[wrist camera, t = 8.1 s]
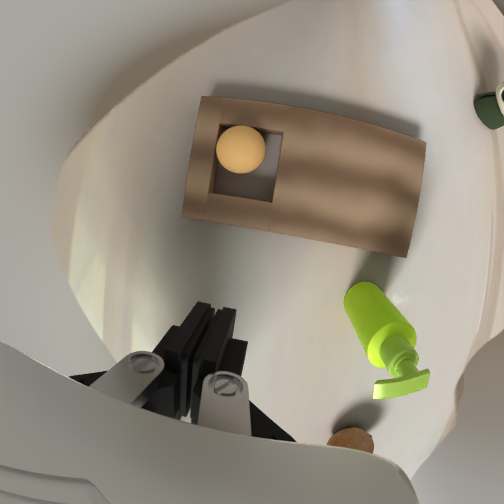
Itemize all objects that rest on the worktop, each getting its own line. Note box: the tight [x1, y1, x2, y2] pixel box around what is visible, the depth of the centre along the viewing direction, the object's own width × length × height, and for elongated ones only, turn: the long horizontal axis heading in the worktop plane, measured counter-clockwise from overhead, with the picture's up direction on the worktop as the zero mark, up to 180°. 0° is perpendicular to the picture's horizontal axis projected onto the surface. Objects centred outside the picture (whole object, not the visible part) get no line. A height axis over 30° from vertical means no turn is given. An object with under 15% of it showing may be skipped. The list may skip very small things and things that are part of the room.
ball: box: [216, 126, 266, 173], centre depth 33 cm, size 6×6×6 cm
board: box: [182, 96, 426, 258], centre depth 34 cm, size 16×30×3 cm, turn 81°
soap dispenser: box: [344, 282, 430, 399], centre depth 29 cm, size 6×7×20 cm
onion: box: [327, 426, 374, 454], centre depth 41 cm, size 10×9×10 cm
